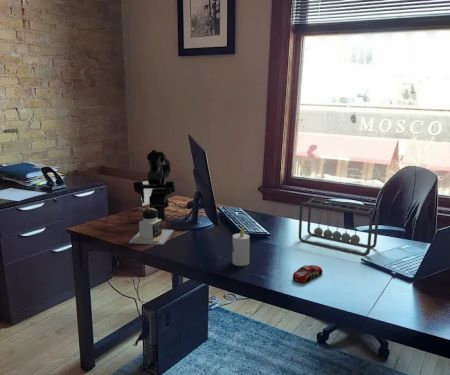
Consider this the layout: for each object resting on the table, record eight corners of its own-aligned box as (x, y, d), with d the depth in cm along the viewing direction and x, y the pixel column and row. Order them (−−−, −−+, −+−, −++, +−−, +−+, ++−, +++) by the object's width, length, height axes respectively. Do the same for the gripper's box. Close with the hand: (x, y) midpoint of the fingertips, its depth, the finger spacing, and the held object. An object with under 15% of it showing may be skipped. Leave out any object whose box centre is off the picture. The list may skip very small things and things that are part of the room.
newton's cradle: (297, 241, 172) (299, 201, 168) (307, 234, 181) (309, 196, 177) (368, 257, 156) (372, 213, 152) (376, 248, 164) (380, 207, 160)
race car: (312, 269, 146) (313, 259, 145) (325, 274, 142) (325, 263, 141) (289, 280, 137) (290, 269, 136) (302, 285, 133) (303, 274, 132)
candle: (229, 260, 153) (229, 223, 149) (245, 258, 155) (245, 221, 151) (235, 267, 147) (235, 228, 143) (251, 264, 149) (252, 226, 146)
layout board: (142, 229, 187) (142, 226, 186) (173, 231, 185) (173, 228, 184) (128, 243, 170) (128, 239, 170) (163, 244, 168) (163, 241, 168)
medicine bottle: (153, 240, 170) (152, 212, 167) (139, 237, 173) (138, 210, 170) (162, 234, 176) (161, 208, 173) (149, 232, 179) (147, 206, 176)
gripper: (132, 164, 183) (129, 193, 175) (173, 164, 183) (172, 193, 175) (136, 177, 192) (133, 206, 184) (175, 177, 193) (174, 205, 185)
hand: (153, 202), depth 182 cm, fingers open, 9 cm apart
